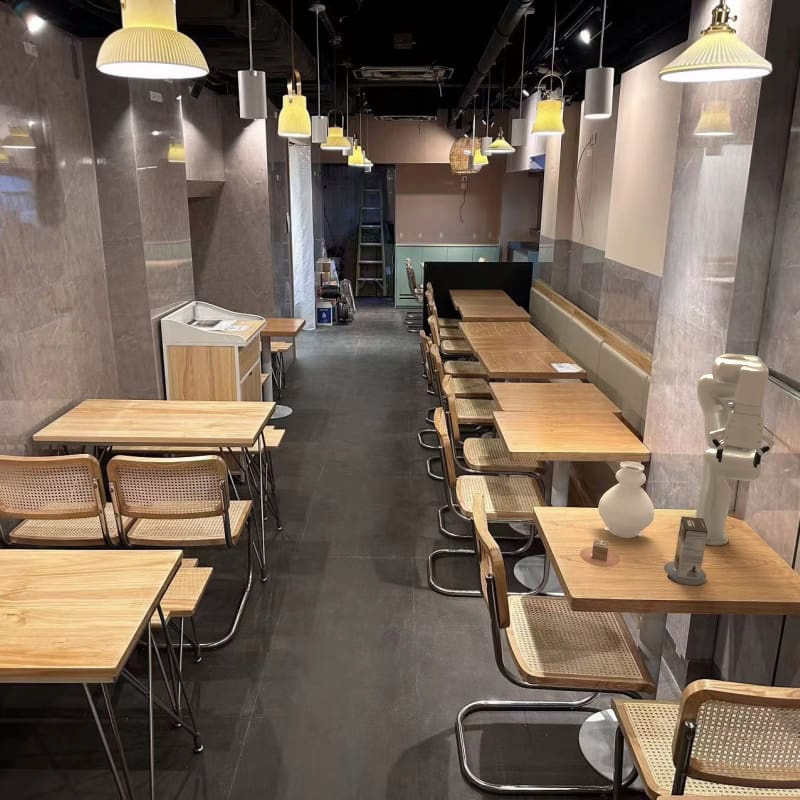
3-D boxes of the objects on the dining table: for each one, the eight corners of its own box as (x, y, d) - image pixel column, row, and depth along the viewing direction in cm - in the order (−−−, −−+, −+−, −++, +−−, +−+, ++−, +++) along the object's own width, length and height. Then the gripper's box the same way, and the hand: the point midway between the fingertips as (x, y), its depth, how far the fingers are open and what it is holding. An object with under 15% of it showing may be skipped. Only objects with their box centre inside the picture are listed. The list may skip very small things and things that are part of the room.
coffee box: (673, 562, 215) (680, 515, 210) (694, 565, 214) (703, 517, 209) (677, 577, 206) (685, 528, 202) (700, 580, 205) (709, 531, 200)
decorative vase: (648, 526, 241) (658, 459, 233) (652, 551, 224) (663, 479, 217) (595, 519, 245) (603, 453, 237) (595, 542, 228) (604, 472, 221)
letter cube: (592, 551, 220) (594, 538, 218) (607, 554, 218) (609, 541, 217) (591, 558, 216) (593, 544, 214) (606, 561, 214) (608, 547, 213)
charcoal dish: (663, 561, 217) (663, 558, 217) (704, 569, 214) (705, 566, 213) (663, 580, 207) (663, 577, 206) (706, 589, 203) (707, 585, 202)
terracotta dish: (581, 547, 225) (581, 544, 224) (620, 554, 221) (620, 551, 220) (577, 564, 214) (577, 561, 213) (617, 573, 210) (618, 569, 210)
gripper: (715, 408, 201) (706, 463, 206) (782, 416, 195) (771, 472, 200) (714, 401, 207) (704, 454, 212) (778, 409, 202) (767, 464, 207)
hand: (736, 463), depth 206 cm, fingers open, 9 cm apart
